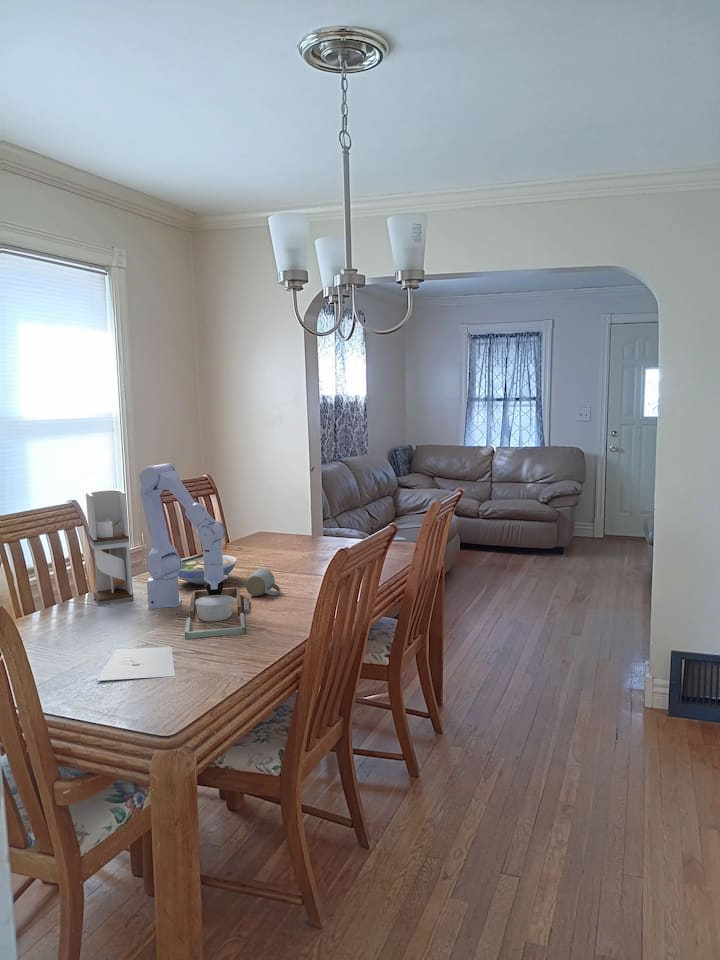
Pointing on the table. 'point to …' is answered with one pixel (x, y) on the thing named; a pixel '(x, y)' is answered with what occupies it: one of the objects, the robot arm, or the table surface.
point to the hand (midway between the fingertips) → (215, 606)
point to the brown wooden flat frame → (203, 593)
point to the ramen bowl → (201, 568)
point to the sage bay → (214, 632)
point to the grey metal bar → (246, 605)
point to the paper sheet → (139, 664)
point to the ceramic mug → (261, 583)
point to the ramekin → (214, 607)
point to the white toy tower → (110, 545)
